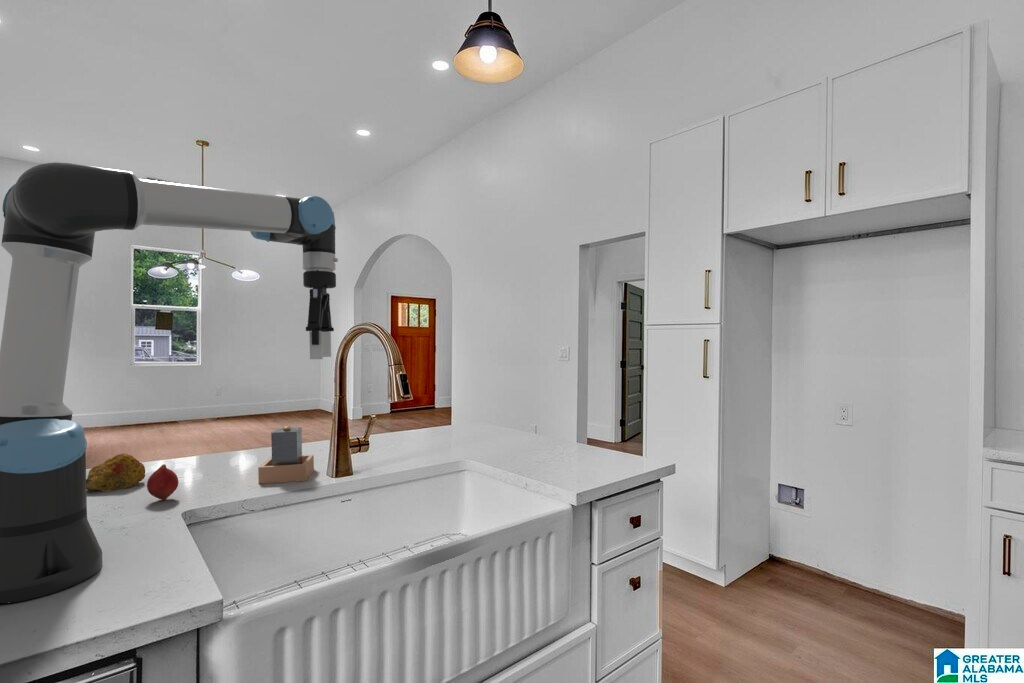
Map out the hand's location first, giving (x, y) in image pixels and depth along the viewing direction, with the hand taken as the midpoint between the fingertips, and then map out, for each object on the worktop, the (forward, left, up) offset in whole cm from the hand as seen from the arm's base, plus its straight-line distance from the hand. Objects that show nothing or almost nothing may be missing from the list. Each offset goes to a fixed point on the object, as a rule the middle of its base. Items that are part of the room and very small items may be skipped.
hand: (321, 358), depth 127 cm
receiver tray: (+8, +10, -31) cm, 33 cm away
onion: (-6, +33, -31) cm, 46 cm away
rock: (+9, +50, -31) cm, 59 cm away
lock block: (+8, +10, -30) cm, 32 cm away
